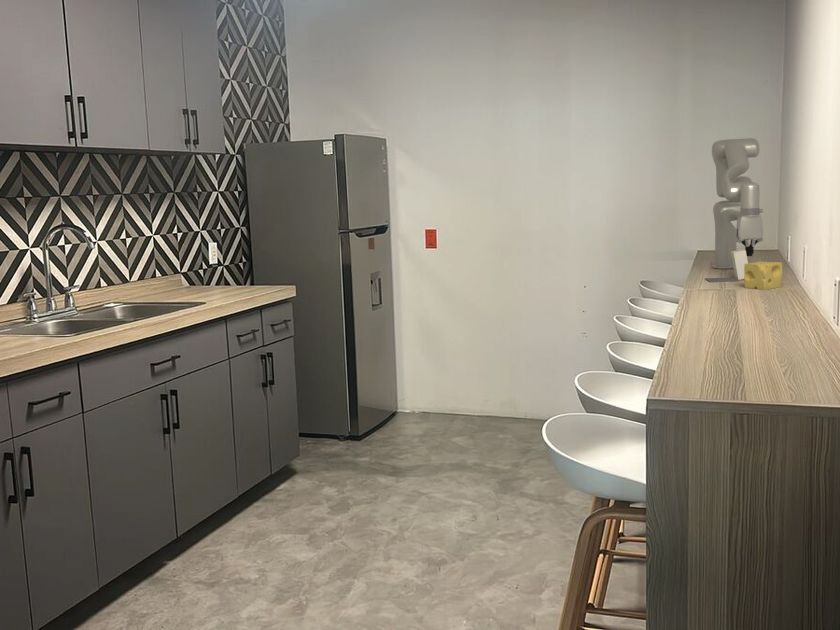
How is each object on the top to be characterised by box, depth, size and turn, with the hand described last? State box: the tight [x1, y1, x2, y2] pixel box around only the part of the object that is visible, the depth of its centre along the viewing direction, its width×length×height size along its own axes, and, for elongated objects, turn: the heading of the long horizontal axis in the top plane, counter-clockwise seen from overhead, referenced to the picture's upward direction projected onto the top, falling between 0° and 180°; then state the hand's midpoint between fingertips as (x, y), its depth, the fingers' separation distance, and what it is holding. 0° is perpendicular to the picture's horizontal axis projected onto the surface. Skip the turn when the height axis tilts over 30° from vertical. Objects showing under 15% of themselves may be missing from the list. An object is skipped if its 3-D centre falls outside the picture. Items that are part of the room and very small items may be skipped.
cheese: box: [743, 261, 784, 291], centre depth 338 cm, size 10×11×10 cm
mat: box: [704, 276, 740, 283], centre depth 364 cm, size 10×12×1 cm
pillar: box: [731, 248, 749, 281], centre depth 362 cm, size 5×5×12 cm
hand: (749, 255), depth 361 cm, fingers closed
